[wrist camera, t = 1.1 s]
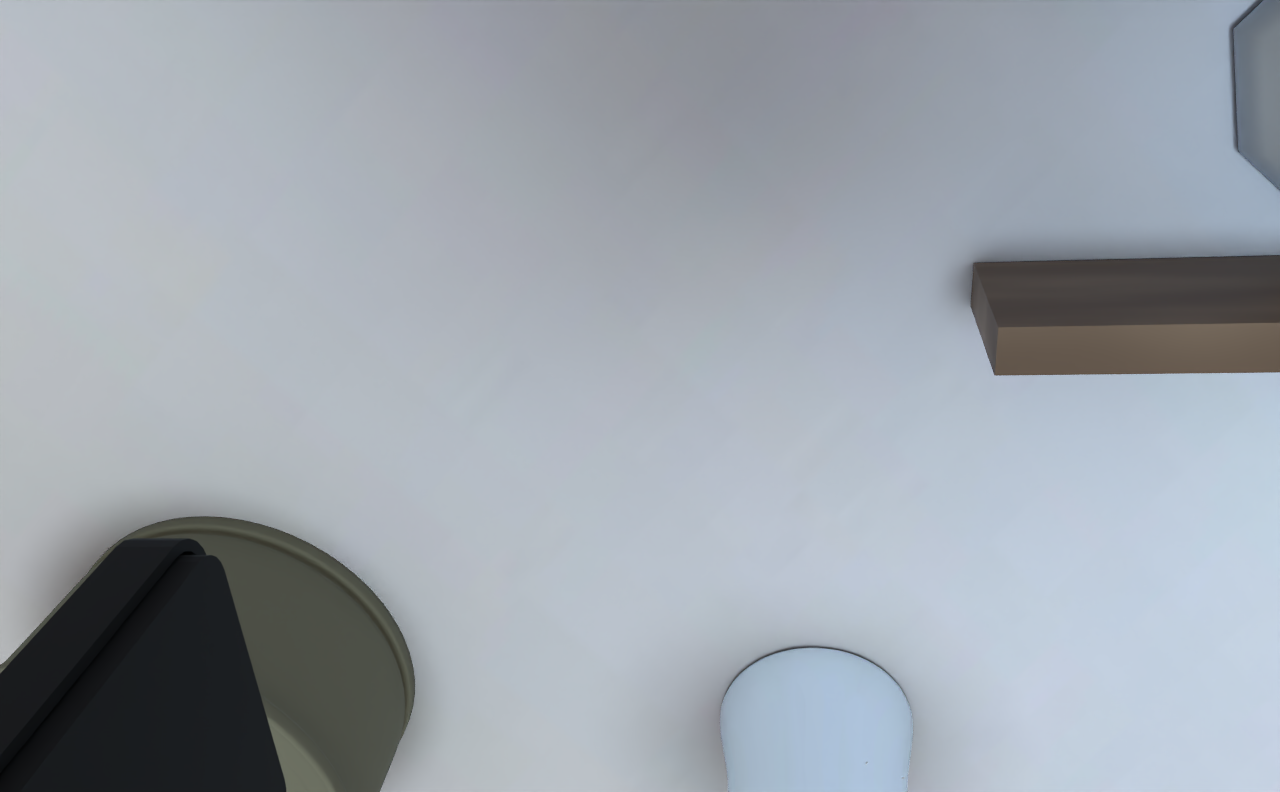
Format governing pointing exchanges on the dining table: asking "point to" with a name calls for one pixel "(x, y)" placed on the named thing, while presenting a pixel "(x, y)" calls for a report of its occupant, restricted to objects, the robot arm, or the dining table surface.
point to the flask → (1259, 88)
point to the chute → (1130, 315)
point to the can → (308, 652)
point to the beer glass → (816, 725)
